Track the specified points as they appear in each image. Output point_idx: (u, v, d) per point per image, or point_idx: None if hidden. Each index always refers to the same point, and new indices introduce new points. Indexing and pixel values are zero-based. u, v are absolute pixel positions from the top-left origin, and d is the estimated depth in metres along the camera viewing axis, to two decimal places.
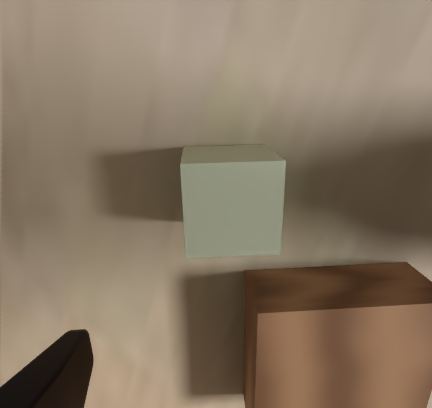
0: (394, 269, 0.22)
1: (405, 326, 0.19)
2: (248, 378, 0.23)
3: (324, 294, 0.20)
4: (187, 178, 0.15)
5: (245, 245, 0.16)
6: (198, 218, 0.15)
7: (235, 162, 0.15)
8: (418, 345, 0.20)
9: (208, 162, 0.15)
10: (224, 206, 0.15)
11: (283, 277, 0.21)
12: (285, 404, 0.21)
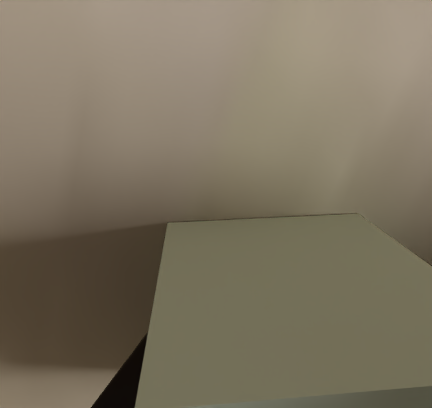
0: None
1: None
2: None
3: None
4: None
5: None
6: None
7: (374, 388, 0.03)
8: None
9: (258, 385, 0.03)
10: None
11: None
12: None
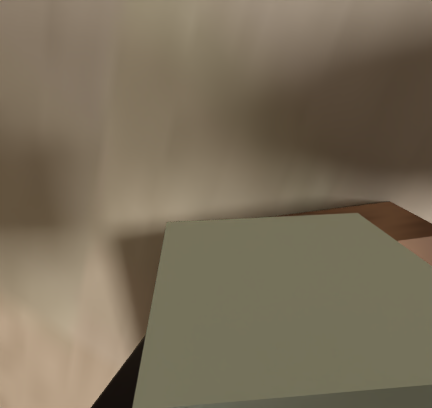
0: (374, 209, 0.18)
1: None
2: None
3: None
4: None
5: None
6: None
7: (373, 387, 0.03)
8: None
9: (256, 384, 0.03)
10: None
11: None
12: None
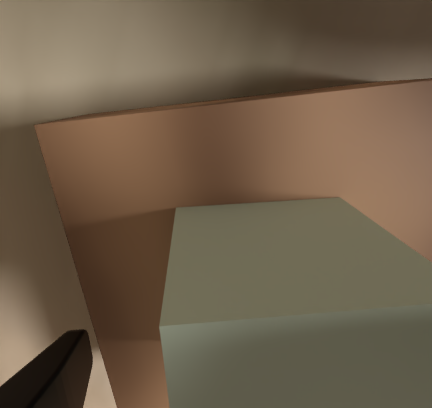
0: (353, 85, 0.12)
1: (367, 144, 0.09)
2: None
3: (201, 104, 0.10)
4: (183, 362, 0.05)
5: None
6: None
7: (331, 311, 0.05)
8: (401, 191, 0.10)
9: (247, 311, 0.05)
10: None
11: (145, 108, 0.12)
12: (157, 335, 0.11)
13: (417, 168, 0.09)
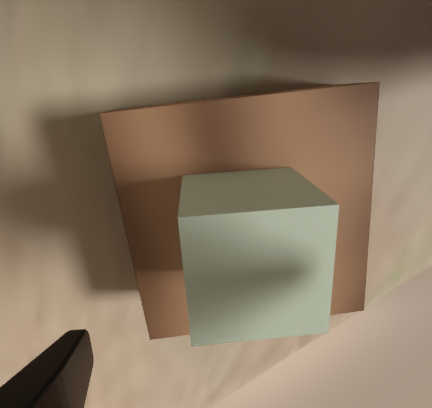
0: (313, 87, 0.17)
1: (314, 126, 0.14)
2: None
3: (205, 100, 0.15)
4: (189, 238, 0.10)
5: (277, 324, 0.11)
6: (208, 292, 0.10)
7: (262, 210, 0.10)
8: (338, 158, 0.14)
9: (221, 212, 0.10)
10: (247, 273, 0.10)
11: None
12: (174, 261, 0.16)
13: (348, 143, 0.14)
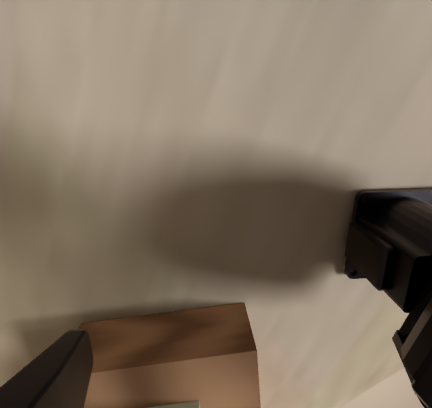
0: (225, 312, 0.22)
1: (212, 376, 0.19)
2: None
3: (135, 349, 0.20)
4: None
5: None
6: None
7: None
8: (232, 392, 0.20)
9: None
10: None
11: (111, 329, 0.22)
12: None
13: (238, 383, 0.20)
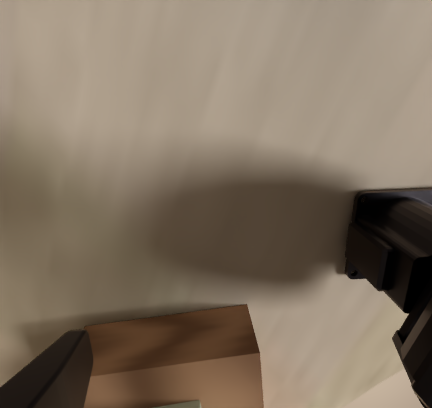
0: (228, 314, 0.22)
1: (215, 378, 0.19)
2: None
3: (139, 351, 0.20)
4: None
5: None
6: None
7: None
8: (236, 394, 0.20)
9: None
10: None
11: (115, 332, 0.22)
12: None
13: (242, 385, 0.20)
